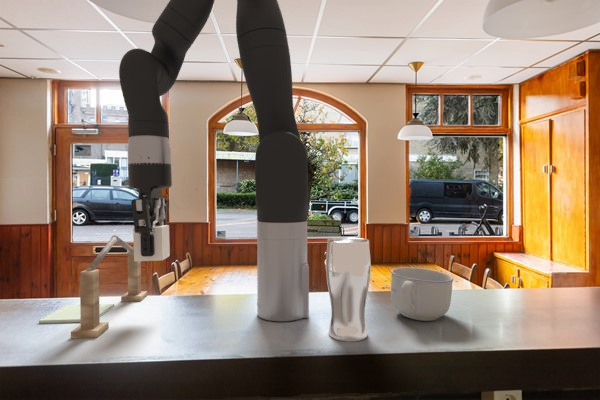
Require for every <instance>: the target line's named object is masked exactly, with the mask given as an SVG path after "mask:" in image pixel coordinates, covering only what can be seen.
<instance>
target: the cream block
mask: <svg viewBox="0 0 600 400" xmlns="http://www.w3.org/2000/svg"><path fill="white" fill-rule="evenodd" d="M132 231H133V232H132V233H133V234H132V237H133V248H134V261H141V262H151V261H152V262H157V261H160V262H161V261H164V260H166V259H167V258H169V257H170V256H171V252H170V251H171V250H170V249H171V248H170V247H171V246H170V244H171V243H170V225H169V224H167V225H156V226H155V228H154V231H155V233H154V249H155V254H154V255H153V256H142V255H141V240H140V236H141V235H140V236H139V234H138V233H135V230H134V227H133V228H132Z"/></svg>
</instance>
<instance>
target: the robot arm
mask: <svg viewBox="0 0 600 400" xmlns="http://www.w3.org/2000/svg"><path fill="white" fill-rule="evenodd" d="M214 4H215V0H169V1H168V3H167V4H166V6H165V7H164V8H163V10H162V12H161V13H160V15H159V16H158V19H156V21H155V22H154V24H153V26H152V29H151V34H152V37H153V40H154V45H153V47H152V50H151V52H150V51H148V50H146V49H144V48H131V49H130V50H128V51H126V52H125V54H123V56H122V57H121V60H120V63H119V67H118V68H119V69H118V77H119V84H120V88H121V92H122V97H123V102H124V105H125V108H126V111H127V115H128V116H127V127H128V133H127V134H128V143H127V174H128V175H127V178H128V187H129V188H130V189H136V190H137V189H138V196H137V199H131V203H130V204H131V211H132V221H133V228H134V230H135V233H138V234H139V236H140V235H141V236H140V240H141V255H142V256H153V255H154V254H155V249H154V233H155V231H154V228H155V226H156V225H168V224H167V223H168V203H169V202H168V201H169V200H168V198H164V197H163V192H162V191H163V190H162V189H169V188H171V187H172V186H173V180H172V151H171V146H170V145H171V144H170V129H169V127H170V126H169V125H170V124H169V122H170V121H169V115H168V111H167V110H166V109H165V107H164V106H163V105H162V103H161V102H162V101H161V97H162V96H164V95H166V93H168V92H169V91H170V90H171V89H172V87H173V86H174V85H175V84H176V83H175V82H176V81H177V78H178V76H179V75H180V71H181V69H182V67H183V65H184V64H183V63H184V61H185V58H186V55H187V52H188V50H190V48H191V47H192V45H193V44H194V42H195V41H196V39H197V37H198V36H199V35H200V33H201V32H202V31H203V28H204V27H205V25H206V24H207V22H208V20H209V17H210V15H211V12H212V9H213V7H214ZM280 7H281V6H280V4H279V1H278V0H236V15H235V16H236V17H235V30H236V31H235V33H236V40H237V47H238V52H239V59H240V64H241V68H242V73H243V76H244V80H245V83H246V86H247V91H248V93H249V95H250V99H251V102H252V105H253V108H254V111H255V116H256V120H257V121H256V122H257V129H258V130H257V131H258V138H259V139H258V141H259V142H258V146H257V148H256V149H255V150H256V151H255V157H254V176H255V177H254V179H255V181H254V183H255V184H254V185H255V186H254V187H255V191H254V192H255V206H256V222H257V223H256V234H257V235H256V239H257V241H256V244H257V245H256V250H257V253H256V255H257V257H256V260H257V262H256V265H257V266H256V267H257V268H256V270H257V275H256V276H257V277H256V278H257V279H256V283H257V287H256V288H257V289H256V290H257V294H256V295H257V299H256V300H257V302H256V303H257V304H256V305H257V317H259V318H260V319H262V320H266V321H272V322H290V321H297V320H300V319H308V318H309V317H310V305H309V304H310V300H309V299H310V292H309V291H310V289H309V288H310V285H309V284H310V281H309V280H310V279H309V278H310V270H309V269H310V265H309V264H308V204H309V203H308V201H309V199H308V198H309V197H308V196H309V195H308V194H309V193H308V185H309V182H308V181H309V179H308V177H309V175H308V174H309V173H308V171H309V169H308V167H309V163H308V157H309V156H308V152H307V151H308V150H307V147H306V145H305V144H304V142H303V141H302V140H301V135H300V133H299V128H298V123H297V120H296V116H295V109H294V102H293V101H294V100H293V99H294V97H293V95H294V94H293V76H292V75H293V74H292V73H293V72H292V64H291V63H292V62H291V53H290V48H289V41H288V36H287V31H286V26H285V21H284V18H283V14H282V10H281V8H280Z"/></svg>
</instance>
